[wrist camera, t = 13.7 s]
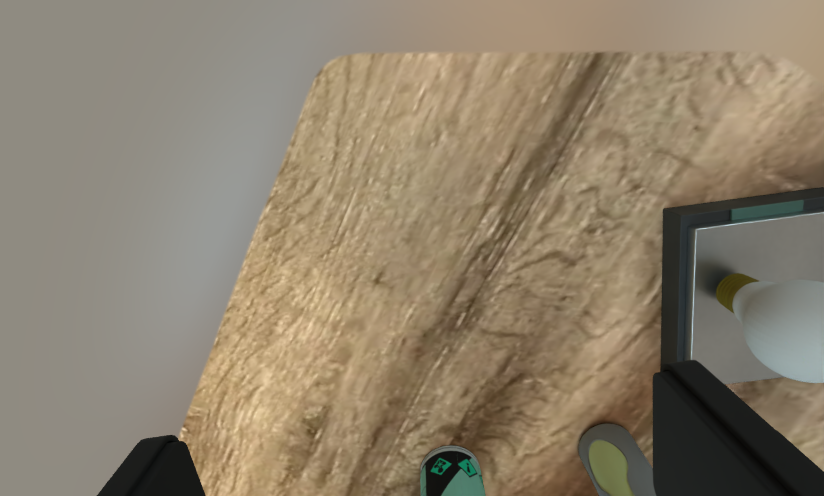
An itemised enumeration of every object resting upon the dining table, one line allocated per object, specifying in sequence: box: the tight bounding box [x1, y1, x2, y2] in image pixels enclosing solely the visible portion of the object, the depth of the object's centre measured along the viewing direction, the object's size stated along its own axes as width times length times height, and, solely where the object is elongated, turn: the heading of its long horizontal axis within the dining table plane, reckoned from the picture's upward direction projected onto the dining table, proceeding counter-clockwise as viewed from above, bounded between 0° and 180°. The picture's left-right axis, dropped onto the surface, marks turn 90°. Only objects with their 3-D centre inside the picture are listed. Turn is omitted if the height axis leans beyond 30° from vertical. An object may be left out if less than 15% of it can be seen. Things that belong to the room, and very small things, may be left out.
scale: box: [661, 188, 824, 384], centre depth 36 cm, size 14×12×4 cm
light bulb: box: [716, 273, 824, 383], centre depth 29 cm, size 6×6×10 cm
